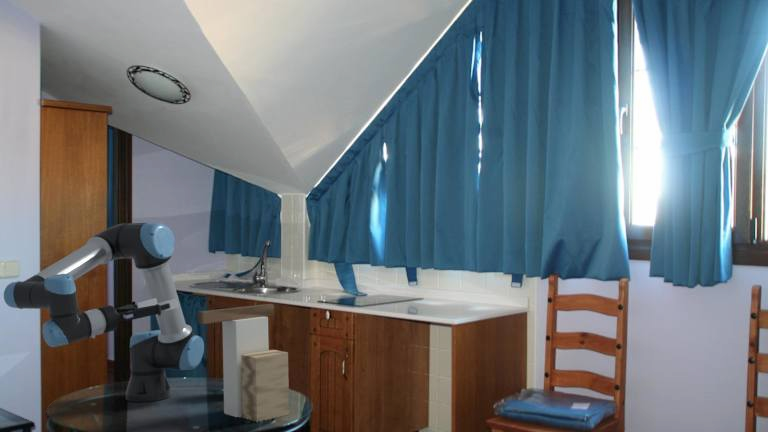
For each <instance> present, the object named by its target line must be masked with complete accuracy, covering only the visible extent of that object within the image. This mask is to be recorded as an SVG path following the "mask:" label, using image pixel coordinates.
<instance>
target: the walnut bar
mask: <svg viewBox="0 0 768 432" xmlns="http://www.w3.org/2000/svg"><path fill="white" fill-rule="evenodd" d="M269 316H270V317H271V316H275V304H272V303H271V304H270V303H266V304H265V303H264V304H257V305H246V306H237V307H229V308H220V309H218V308H217V309H211V310H203V311H202V310H201V311H197V324H200V325H201V324H202V325H208V324H215V323H222V322H224V321H232V320H241V319H249V318H257V317H269Z"/></svg>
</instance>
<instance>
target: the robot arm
mask: <svg viewBox="0 0 768 432" xmlns="http://www.w3.org/2000/svg"><path fill="white" fill-rule="evenodd" d="M175 241H176V240H175V236H174V234H173V232H172V230H171V228H169V226H167V225H165V224H164V223H161V222H155V221H154V222H153V221H149V222H130V223H129V222H125V223H119V224H115V225H112V226H111V227H108V228H106V229H104V230H102V231H101V232H98V233H97V234H94V235H93V236H92V237H90V238H88V240H87V242H86V244H84V245H83V246H81V247H80V248H77V249H76V250H74V251H72V253H71V252H70V254H68V255H66V256H65V257H63V258H61V259H60V260H58V261H56V262H54V263H53V264H51V265H49V266H48V267H45V268H44V269H42V270H41V271H39V272H38V273H36V274H34V275H33V276H31V277H29V278H27V279H25V280H23V281H21V280H20V281H19V280H17V281H14V282H13V281H12V282H10V283H9V284H8V285H6V287H5V289H4V292H3V300H4V301H5V304H6V305H7V306H8V307H10V308H15V309H20V310H23V309H27V310H28V309H30V310H31V309H34V310H35V309H36V310H39V309H40V310H43V309H45V310H48V314H49V320H47V321H45V322H44V323H43V324H42V331H41V332H42V337H43V340H44V341H45V342H44V343H46V345H48V347H51V348H57V347H60V346H61V347H62V346H65V345H66V346H67V345H69V344H71V343H75V342H79V341H82V340H86V339H89V338H92V339H95V338H96V336H99V335H102V334H106V333H110V332H114V331H117V329H118V328H119V325H120V323H121V322H122V323H126V322H130V321H134V320H136V319H142V318H146V317H151V316H155V318H156V320H157V325H158V328H159V329H156V330H150V331H143V332H138V333H135V334H132V335H131V337H130V339H129V340H130V341H129V359H130V360H129V362H130V363H129V364H130V365H129V367H130V378H129V382H128V384H127V388H126V390H125V400H126V401H128V402H132V403H148V402H155V401H156V402H157V401H161V400H166V399H167V398H169V397H171V393H172V389H171V386H170V384H169V383H170V382H169V381H168V379H167V375H166V370H167V369H169V370H180V371H185V370H189V371H190V370H193V369H196V367H198V366H199V364H200V363H201V361H202V360H203V359H202V358H203V356H204V351H205V343H204V339H203V337H202V336H199V335H195V334H194V331H193V328H192V326H191V325H189V324H186V319H185V316H184V313H183V309H182V306H181V302H180V300H179V296H178V293H177V290H176V285H175V283H174V282H175V281H174V278H173V275H172V271H171V269H170V265H169V263H170V261H171V259H172V254H173V253H174V252H175V245H176V243H175ZM121 259H128V260H129V259H133V263H134V266H135V268H136V269H138V270H140V271H142V274H143V278H144V280H145V281H144V282H145V285H146V288H147V291H148V296H149V298H150V299H146V300H144V301H140V302H139V301H138V302H136V301H131V302H130V303H128V304H126V305H124V306H120V307H117V308H115V307H114V306H113V305H105V306H102V307H101V306H100V307H98V308H93V309H89V310H86V311H82V312H80V310H79V303H78V297H77V295H78V294H77V287H76V284H75V280H77V279H79V278H80V277H82V276H83V275H85V274H87V273H88V272H90V271H91V270H93V269H95V268H96V267H97V266H99V265H106V264H108V263H110V262H112V261H114V260H121Z"/></svg>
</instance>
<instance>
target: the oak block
mask: <svg viewBox="0 0 768 432" xmlns="http://www.w3.org/2000/svg"><path fill="white" fill-rule="evenodd" d="M241 366H242V417H241V418H242V419H245V418H246V420H248V419H249V421H251V420H252V421H251V422H255V421H256V422H255V423H259V422H258V421H260V422H264V421H263V420H265V421H268V419H269V420H273V419H276V417H277V418H281V417H284V416H288V415H289V416H290V397H289V396H290V393H289V391H290V389H289V387H290V385H289V383H290V382H289V352H287V351H281V350H278V349H269V350H268V351H262V352H255V353H249V354H243V355H241ZM280 416H281V417H280ZM272 418H273V419H272Z"/></svg>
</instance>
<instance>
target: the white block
mask: <svg viewBox="0 0 768 432" xmlns="http://www.w3.org/2000/svg"><path fill="white" fill-rule="evenodd" d="M221 323H222V362H223V365H222V372H223V374H222V375H223V413H224V414H225V415H227V416H232V417H235V418H237V417H239V418H243V417H242V366H241V355H243V354H249V353H255V352H262V351H268V350H270V346H269V343H270V342H269V316H265V317H257V318H249V319H241V320H232V321H224V322H221Z"/></svg>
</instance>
